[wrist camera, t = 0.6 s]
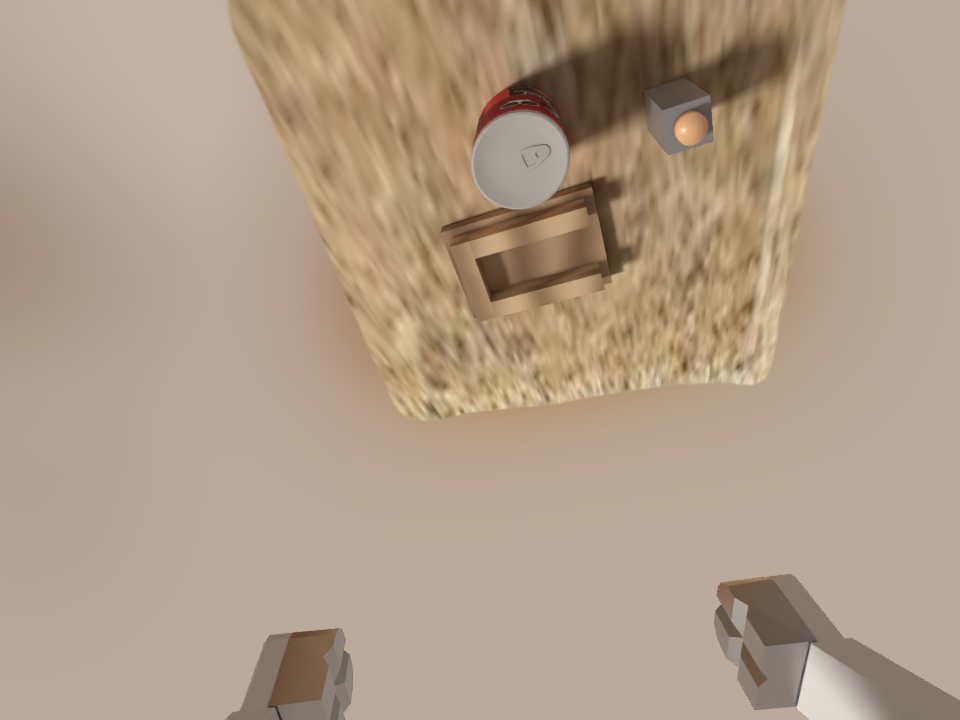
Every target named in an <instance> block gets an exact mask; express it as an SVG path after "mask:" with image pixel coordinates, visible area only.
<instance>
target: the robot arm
mask: <svg viewBox="0 0 960 720" xmlns="http://www.w3.org/2000/svg"><path fill="white" fill-rule="evenodd" d="M717 597H718V599H719V601H720V602H721V605H720V606H719V607H718V608H717V609H716V611H715V620H714V624H715V629H716V635H717V638H718V641H719V643H720V646H721V648H722V650H723V652H724V654H725V656H726V658H727V659H729V660H730V661H731V662H733V663H734V664H735V665H737V666H738V667H739V671H738V681H739V682H740V684H741V686H742V688H743V690H744V692H745V694H746V695H747V697H748V699H749V700H750V703H751V705H752V706H753V708H754V710H761V709H772V708H783V707H794V706H797V709H798V710H799V711H800V712H801V713H803V714H804V715H805V716H806V717H807V718H809V719H810V720H960V700H958V699H956V698H955V697H953V696H951V695H950V694H947V693H946V692H944V691H943V690H941V689H939V688H937V687H935V686H934V685H932V684H931V683H929V682H927V681H925V680H924V679H922V678H920V677H918V676H916V675H915V674H913V673H912V672H910V671H908V670H906V669H905V668H903V667H901V666H899V665H898V664H896V663H894V662H893V661H891V660H889V659H887V658H886V657H884V656H882V655H880V654H879V653H877V652H875V651H874V650H872V649H870V648H868V647H867V646H865V645H863V644H861V643H860V642H858V641H856V640H855V639H853V638H844V637H843V636H842V635H841V633H840V632H839V631H838V630H837V628H836V627H835V626H834V625H833V623H832V622H831V621H830V620H829V618H828V617H827V616H826V615H825V613H824V612H823V611H822V609H821V608H820V607H819V606H818V604H817V603H816V602H815V601H814V599H813V598H812V597H811V596H810V595H809V593H808V592H807V591H806V589H805V588H804V587H803V586H802V585H801V583H800V582H799V581H798V579H797V578H796V577H794V576H793V575H791V574H786V575H778V576H770V577H759V578H752V579H744V580H736V581H729V582H721V583H720V585H719V586H718V590H717ZM344 646H345V636H344V633H343V630H342V629H339V628H337V629H326V630H315V631H304V632H293V633H285V634H275V635H269V637H268V638H267V640H266V641H265V642H264V645H263V647H262V650H261V653H260V656H259V659H258V661H257V664H256V667H255V670H254V672H253V675H252V678H251V681H250V684H249V686H248V689H247V692H246V695H245V698H244V700H243V703H242V706H241V709H240V711H238V712H232V713H231V714H230V715H229V716H228V717H227V718H226V719H225V720H345V718H344V714H343V712H344V711H345V710H346V709H347V707H348V706H349V705H350V703H351V697H352V690H353V668H352V661H351V657H350V654H348V653H347V652H346V651H344Z"/></svg>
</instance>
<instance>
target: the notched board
mask: <svg viewBox="0 0 960 720" xmlns="http://www.w3.org/2000/svg"><path fill="white" fill-rule="evenodd" d="M441 235H442V238H443V240H444V243H445V245H446V248H447V250H448V253H449V255H450V258H451V261H452V263H453V266H454V268H455V271H456V273H457V276H458V278H459V281H460V283H461V286H462V288H463V291H464V293H465V296H466V298H467V301H468V303H469V306H470V308H471V311H472V313H473V316H474V318H476V317H477V318H478V320H479V322H481V321H484V320H488V319H492V318H496V317H500V316H504V315H508V314H512V313H516V312H519V311H523V310H527V309H531V308H535V307H539V306H543V305H547V304H551V303H555V302H558V301H562V300H566V299H570V298H574V297H578V296H582V295H586V294H590V293H593V292H597V291H601V290H605V289H604V284H607V283H611V282H612V280H611V275H610V270H609V266H608V261H607V256H606V252H605V247H604V242H603V237H602V233H601V228H600V223H599V219H598V214H597V209H596V204H595V200H594V195H593V190H592V186H591V183H590V182H589V183H585V184H582V185H579V186H576V187H572V188H569V189H566V190H562V191H559V192H556V193H555V194H554V195H552V196H551V197H550V198H549V199H548V200H546V201H544V202H543V203H541V204H539V205H537V206H534V207H531V208H526V209H508V208H503V209H500V210H497V211H493V212H490V213H487V214H484V215H480V216H477V217H474V218H470V219H467V220H464V221H461V222H457V223H454V224H451V225H447V226H444V227H442V229H441Z"/></svg>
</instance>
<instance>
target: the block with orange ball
mask: <svg viewBox="0 0 960 720" xmlns="http://www.w3.org/2000/svg"><path fill="white" fill-rule="evenodd" d="M643 95H644V102H645V109H646V116H647V123H648V130H649V132H650V133H651V134H652V136H653V137H654V138H655V139H656V141H657V142H658V143H659V144H660V146H661V147H662V148H663V149H664V151H665V152H666V153H667V154H668V155H670V154H674V153H677V152H680V151H683V150H687V149H690V148H693V147H696V146H700V145H703V144H706V143H710V142H713V141H714V139H713V126H712V113H711V99H710V95H709V94H708V93H706V92H705V91H704V90H702V89H701V88H699V87H698V86H696V85H695V84H693V83H692V82H690V81H689V80H687V79H686V78H684V77H683V78H680V79H677V80H674V81H671V82H668V83H665V84H662V85H659V86H656V87H653V88H650V89H647V90H644V91H643Z"/></svg>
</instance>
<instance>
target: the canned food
mask: <svg viewBox="0 0 960 720" xmlns="http://www.w3.org/2000/svg"><path fill="white" fill-rule="evenodd" d="M569 161H570V149H569V144H568V139H567V136H566V133H565V130H564V127H563V124H562V121H561V118H560V115H559V112H558V109H557V107H556V105H555V104H554V102H553V101H552V100H551V99H550V98H549V96H547V95H546V94H545V93H543V92H542V91H540V90H537V89H535V88H531V87H527V86H517V87H513V88H509V89H506V90H504V91H502V92H500V93H499V94H497V95H496V96H494V97H493V98H492V99H491V100H490V101H489V102H488V103H487V105H486V106H485V108H484V109H483V111H482V114H481V116H480V118H479V122H478V127H477V131H476V135H475V139H474V144H473V149H472V155H471V169H472V174H473V178H474V181H475V183H476V186H477V187H478V189H479V190H480V192H481V193H482V194H483V195H484V196H485V197H486V198H487V199H488V200H489V201H491V202H493V203H494V204H496V205H498V206H501V207H503V208H508V209H526V208H531V207H534V206H537V205H539V204H541V203H543V202H544V201H546V200H548V199H549V198H550V197H551V196H552V195H554V194H555V193H556V191H557V190H558V189H559V188H560V186H561V185H562V183H563V181H564V179H565V178H566V175H567V172H568V169H569Z"/></svg>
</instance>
